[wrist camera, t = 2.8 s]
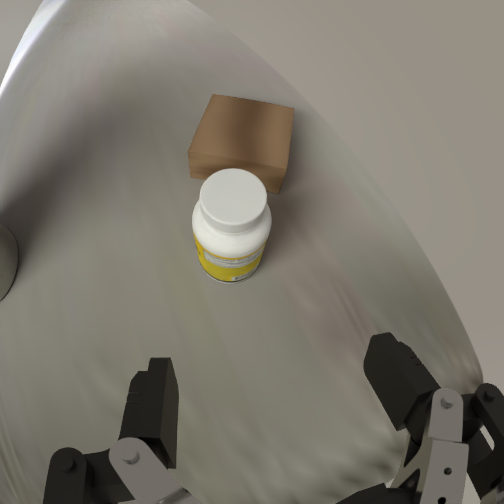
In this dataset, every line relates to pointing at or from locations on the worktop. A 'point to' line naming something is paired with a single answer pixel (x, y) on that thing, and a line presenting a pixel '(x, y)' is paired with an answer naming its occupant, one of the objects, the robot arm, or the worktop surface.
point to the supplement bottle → (231, 225)
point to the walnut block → (243, 140)
